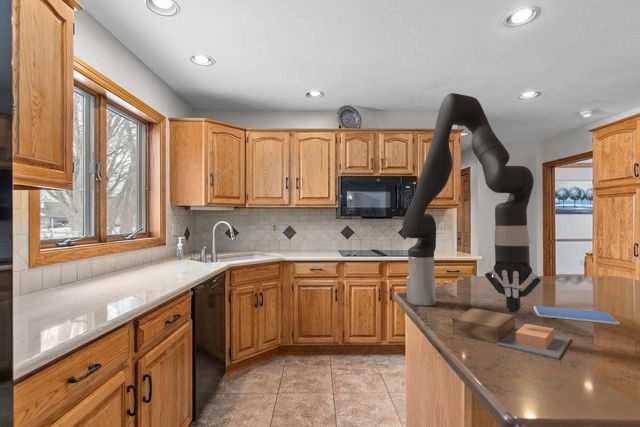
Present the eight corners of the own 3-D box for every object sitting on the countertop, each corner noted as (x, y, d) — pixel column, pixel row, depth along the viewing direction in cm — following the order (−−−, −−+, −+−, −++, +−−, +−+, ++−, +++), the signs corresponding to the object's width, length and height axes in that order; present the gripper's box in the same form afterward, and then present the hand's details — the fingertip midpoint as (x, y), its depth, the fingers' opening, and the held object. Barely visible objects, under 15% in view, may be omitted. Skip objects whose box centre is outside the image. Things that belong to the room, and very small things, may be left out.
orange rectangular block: (545, 338, 73) (546, 349, 73) (553, 328, 79) (554, 338, 79) (515, 332, 77) (516, 342, 77) (525, 323, 83) (526, 333, 83)
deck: (453, 333, 85) (452, 318, 85) (472, 321, 95) (472, 308, 95) (498, 344, 77) (497, 327, 77) (514, 329, 87) (514, 315, 87)
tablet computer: (606, 315, 100) (606, 311, 100) (621, 327, 89) (621, 322, 89) (533, 309, 110) (533, 305, 110) (538, 318, 98) (538, 314, 98)
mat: (496, 345, 77) (496, 343, 77) (515, 329, 88) (515, 327, 88) (558, 359, 68) (558, 357, 68) (570, 339, 79) (570, 337, 79)
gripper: (478, 243, 84) (480, 309, 83) (538, 245, 74) (541, 320, 74) (488, 241, 89) (490, 304, 88) (545, 243, 79) (548, 313, 79)
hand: (513, 311), depth 81 cm, fingers closed
